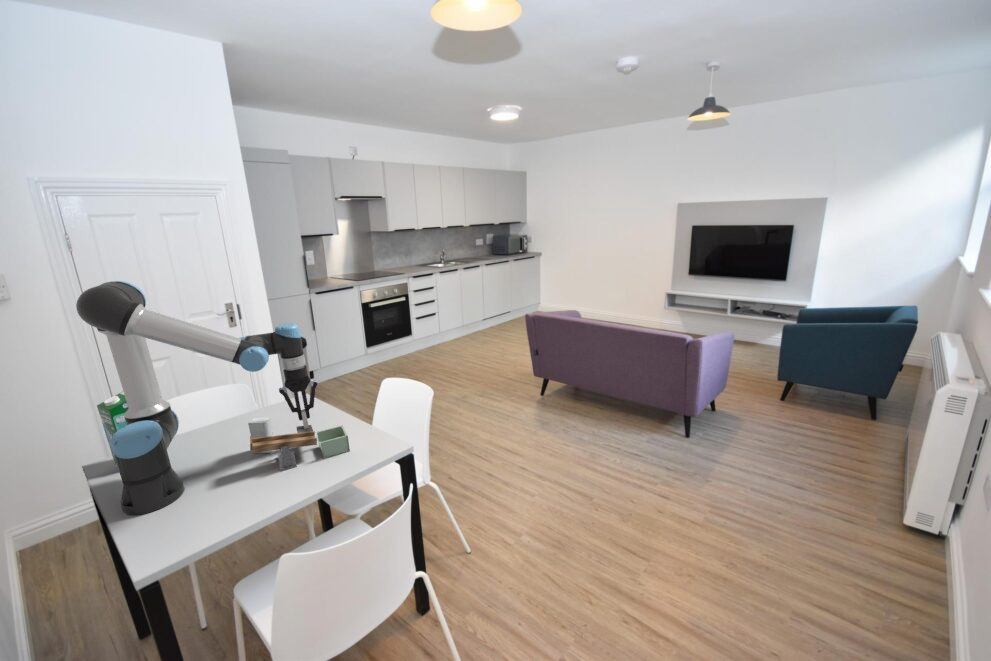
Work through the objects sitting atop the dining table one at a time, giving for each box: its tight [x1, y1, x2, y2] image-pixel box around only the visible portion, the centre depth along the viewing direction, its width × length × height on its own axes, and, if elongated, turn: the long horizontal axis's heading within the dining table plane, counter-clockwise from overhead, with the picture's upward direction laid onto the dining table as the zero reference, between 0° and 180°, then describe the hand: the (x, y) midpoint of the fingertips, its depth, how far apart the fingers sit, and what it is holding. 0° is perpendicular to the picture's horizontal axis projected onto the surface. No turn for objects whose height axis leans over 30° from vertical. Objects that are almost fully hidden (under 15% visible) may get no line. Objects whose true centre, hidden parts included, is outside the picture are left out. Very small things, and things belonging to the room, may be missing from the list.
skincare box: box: [247, 417, 275, 454], centre depth 156 cm, size 6×4×12 cm
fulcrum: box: [277, 434, 297, 472], centre depth 148 cm, size 5×10×8 cm, turn 29°
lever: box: [249, 424, 318, 454], centre depth 151 cm, size 20×15×3 cm
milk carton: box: [96, 391, 128, 466], centre depth 150 cm, size 9×9×25 cm
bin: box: [316, 424, 351, 459], centre depth 155 cm, size 9×9×6 cm
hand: (306, 426), depth 159 cm, fingers closed
